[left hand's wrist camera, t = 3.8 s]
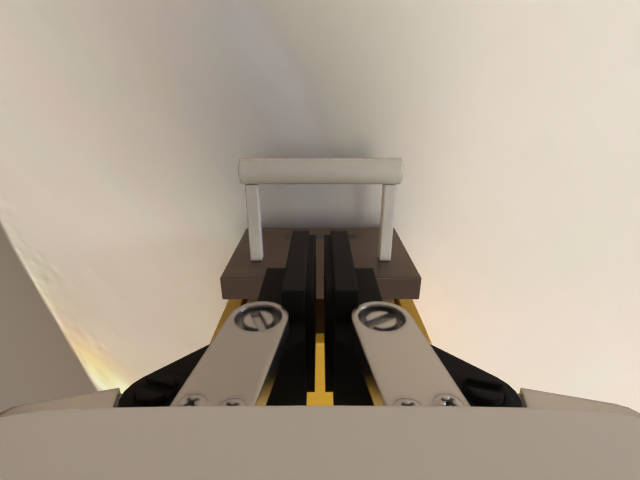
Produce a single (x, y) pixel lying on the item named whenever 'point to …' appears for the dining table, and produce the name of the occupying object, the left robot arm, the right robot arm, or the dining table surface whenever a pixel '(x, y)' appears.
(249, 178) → the drawer
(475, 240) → the dining table surface
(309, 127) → the dining table surface
